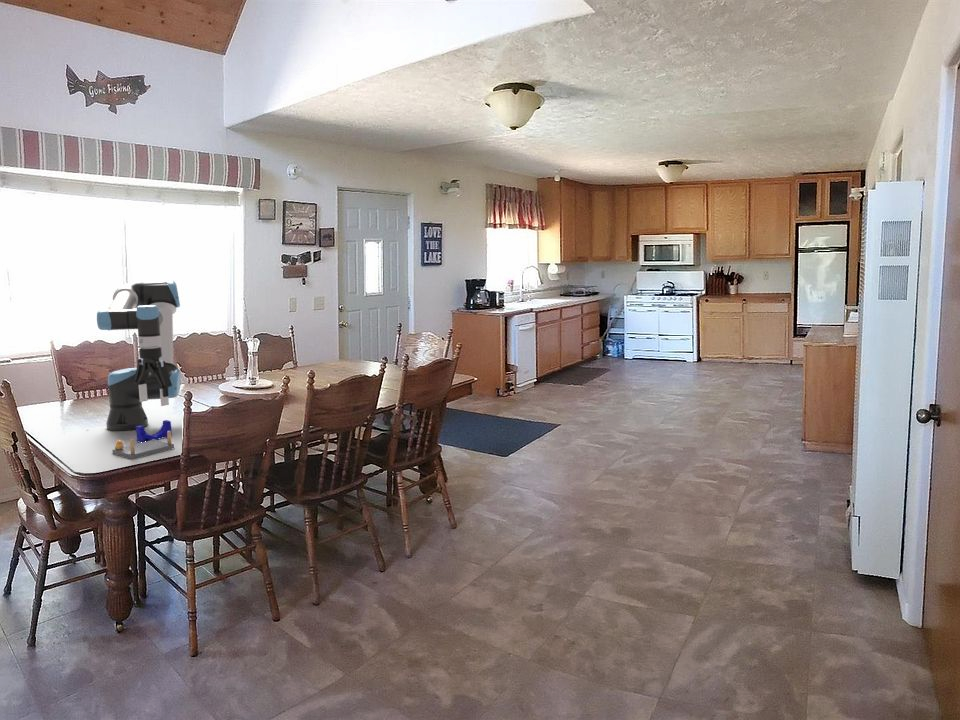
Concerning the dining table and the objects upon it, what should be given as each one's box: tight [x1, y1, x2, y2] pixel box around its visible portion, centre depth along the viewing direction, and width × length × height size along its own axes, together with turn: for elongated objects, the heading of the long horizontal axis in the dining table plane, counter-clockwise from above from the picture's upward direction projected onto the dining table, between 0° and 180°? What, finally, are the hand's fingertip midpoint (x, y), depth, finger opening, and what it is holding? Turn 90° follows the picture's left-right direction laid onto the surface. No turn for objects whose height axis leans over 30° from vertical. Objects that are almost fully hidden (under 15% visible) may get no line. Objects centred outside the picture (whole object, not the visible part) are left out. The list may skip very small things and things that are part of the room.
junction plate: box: [111, 430, 175, 460], centre depth 254 cm, size 12×16×6 cm
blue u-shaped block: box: [135, 419, 172, 443], centre depth 270 cm, size 12×4×6 cm, turn 142°
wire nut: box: [114, 439, 124, 450], centre depth 251 cm, size 2×2×3 cm
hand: (154, 403), depth 268 cm, fingers open, 13 cm apart
